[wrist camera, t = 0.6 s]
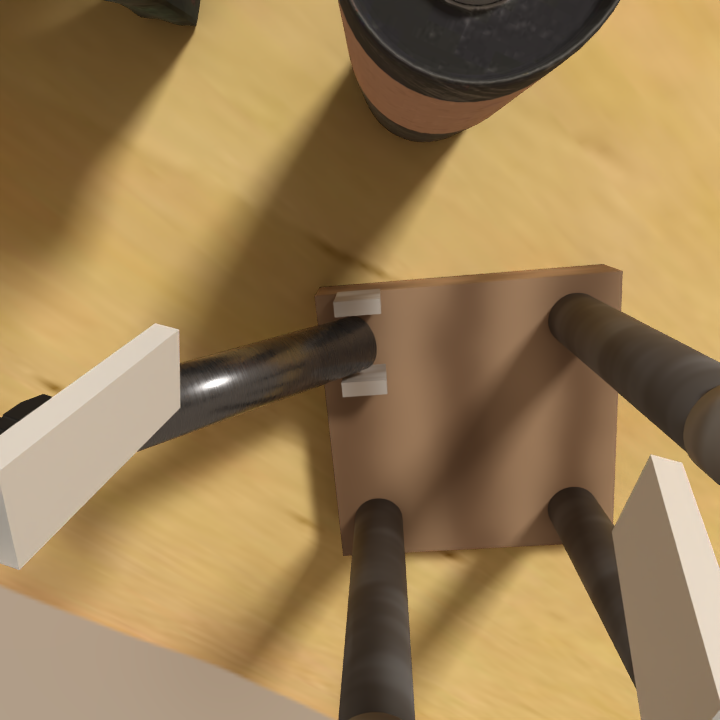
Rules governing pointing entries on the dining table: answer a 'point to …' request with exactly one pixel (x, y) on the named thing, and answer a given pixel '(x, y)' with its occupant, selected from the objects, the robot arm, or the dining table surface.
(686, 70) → the dining table surface
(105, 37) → the dining table surface
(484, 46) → the travel mug
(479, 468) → the stool
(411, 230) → the dining table surface
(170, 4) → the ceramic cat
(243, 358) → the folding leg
